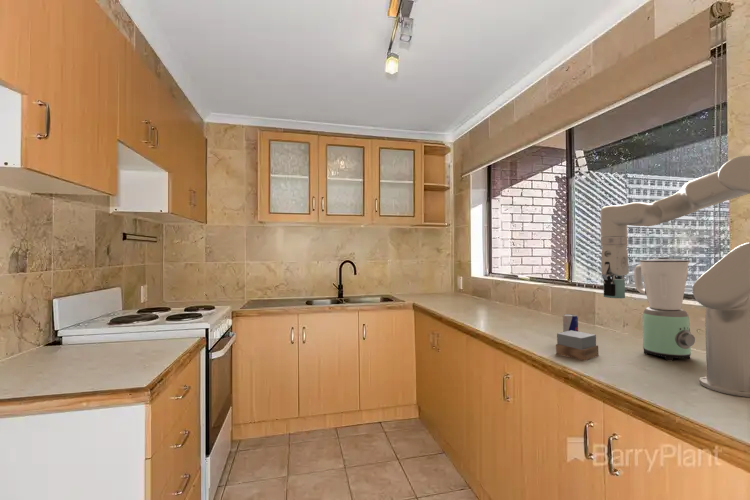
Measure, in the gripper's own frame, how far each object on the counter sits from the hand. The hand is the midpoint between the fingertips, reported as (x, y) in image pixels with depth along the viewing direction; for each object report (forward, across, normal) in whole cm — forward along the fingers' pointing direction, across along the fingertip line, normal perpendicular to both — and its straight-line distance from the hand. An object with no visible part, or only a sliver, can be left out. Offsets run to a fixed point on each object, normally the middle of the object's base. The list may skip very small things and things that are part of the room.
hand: (614, 294), depth 118 cm
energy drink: (+24, +10, +20) cm, 32 cm away
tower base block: (+24, -2, +11) cm, 26 cm away
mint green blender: (+23, +21, -7) cm, 32 cm away
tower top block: (+20, -2, +12) cm, 23 cm away
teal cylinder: (+1, 0, 0) cm, 1 cm away
